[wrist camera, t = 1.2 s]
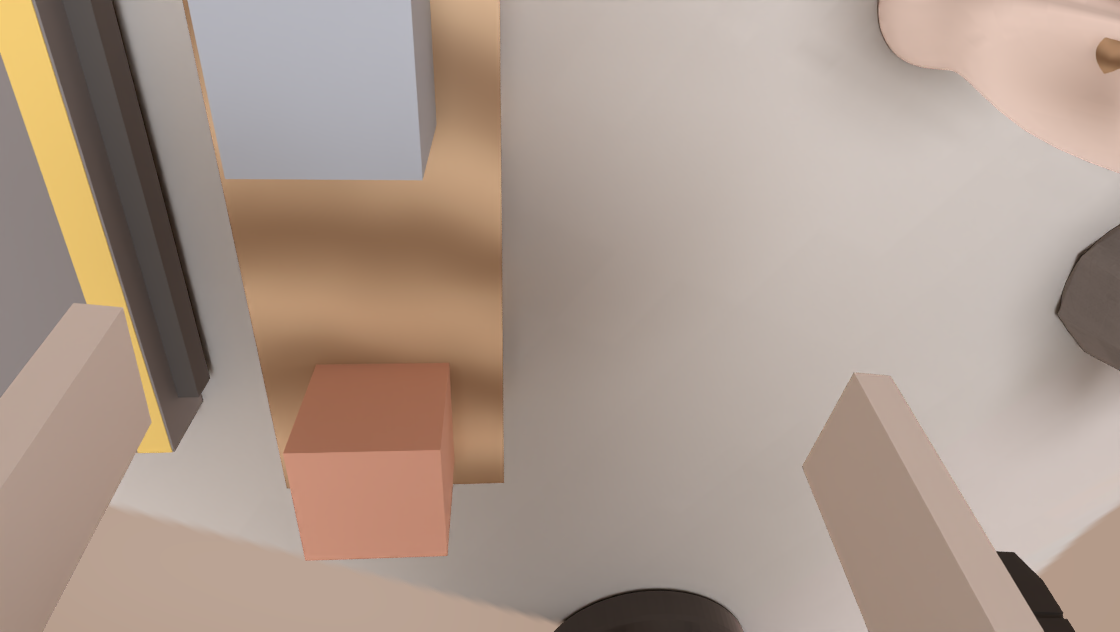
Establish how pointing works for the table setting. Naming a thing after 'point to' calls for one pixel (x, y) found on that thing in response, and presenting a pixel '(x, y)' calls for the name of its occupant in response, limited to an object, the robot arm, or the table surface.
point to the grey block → (319, 87)
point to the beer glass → (1025, 62)
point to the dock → (87, 206)
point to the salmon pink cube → (373, 461)
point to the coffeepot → (1095, 300)
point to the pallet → (391, 254)
